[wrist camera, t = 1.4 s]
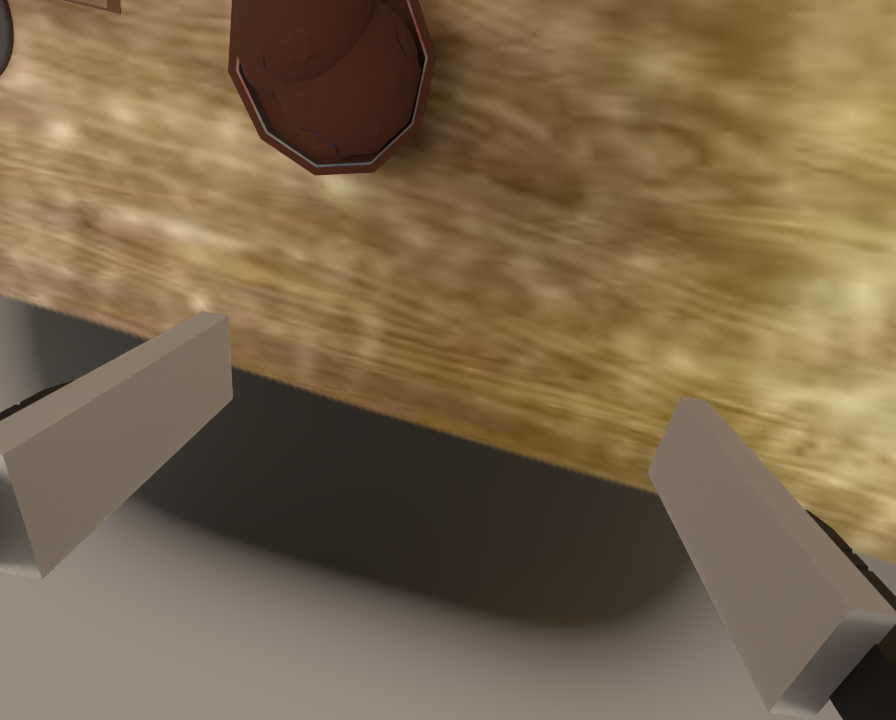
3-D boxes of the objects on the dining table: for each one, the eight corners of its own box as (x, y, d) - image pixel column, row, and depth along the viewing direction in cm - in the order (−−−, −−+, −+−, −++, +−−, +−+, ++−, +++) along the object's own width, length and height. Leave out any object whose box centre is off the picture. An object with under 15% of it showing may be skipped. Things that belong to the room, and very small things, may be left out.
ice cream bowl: (265, 79, 32) (105, 22, 19) (379, -49, 29) (284, -234, 15) (365, 202, 35) (289, 229, 22) (479, 98, 32) (474, 53, 18)
